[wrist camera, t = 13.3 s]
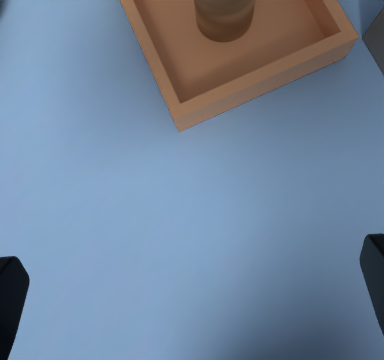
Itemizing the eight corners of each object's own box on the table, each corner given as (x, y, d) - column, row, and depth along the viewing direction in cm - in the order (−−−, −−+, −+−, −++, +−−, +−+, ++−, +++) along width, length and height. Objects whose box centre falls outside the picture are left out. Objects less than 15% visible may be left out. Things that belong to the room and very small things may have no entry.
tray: (344, 57, 23) (359, 36, 21) (178, 132, 24) (173, 120, 21) (265, -80, 26) (269, -114, 23) (114, -11, 26) (103, -37, 23)
